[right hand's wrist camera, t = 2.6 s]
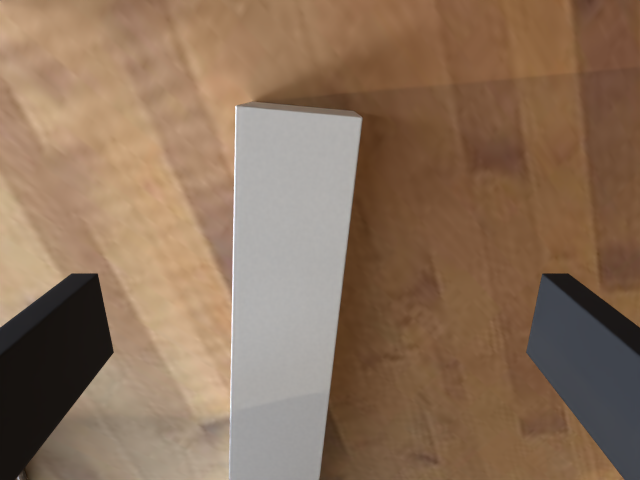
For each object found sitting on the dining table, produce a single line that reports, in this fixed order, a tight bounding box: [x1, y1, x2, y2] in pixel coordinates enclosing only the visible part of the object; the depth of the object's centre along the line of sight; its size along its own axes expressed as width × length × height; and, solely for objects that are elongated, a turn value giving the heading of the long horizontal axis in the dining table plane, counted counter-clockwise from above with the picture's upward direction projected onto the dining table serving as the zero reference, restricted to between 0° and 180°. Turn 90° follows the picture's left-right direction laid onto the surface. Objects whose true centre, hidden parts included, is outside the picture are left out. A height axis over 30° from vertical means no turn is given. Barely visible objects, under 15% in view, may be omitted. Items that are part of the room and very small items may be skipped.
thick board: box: [229, 102, 363, 480], centre depth 44 cm, size 74×9×7 cm, turn 175°
